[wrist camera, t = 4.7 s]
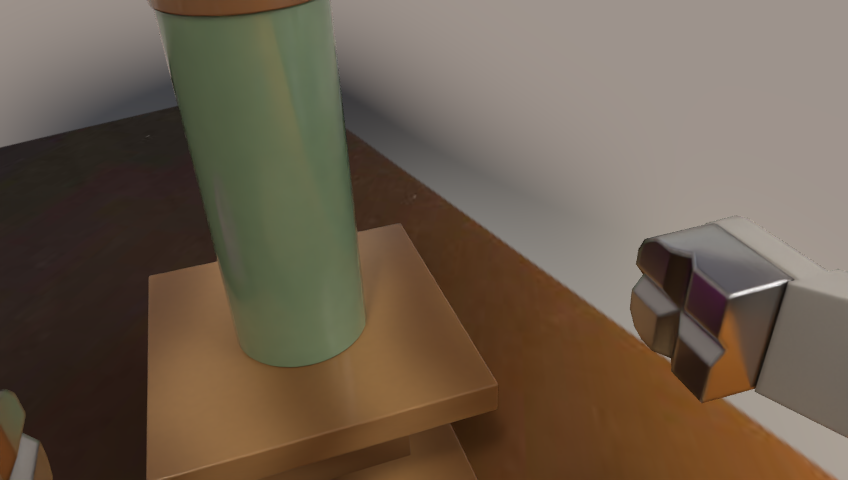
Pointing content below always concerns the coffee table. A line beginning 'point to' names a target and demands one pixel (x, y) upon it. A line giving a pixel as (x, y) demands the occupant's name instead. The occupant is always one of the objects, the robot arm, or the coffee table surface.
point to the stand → (314, 384)
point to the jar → (271, 169)
